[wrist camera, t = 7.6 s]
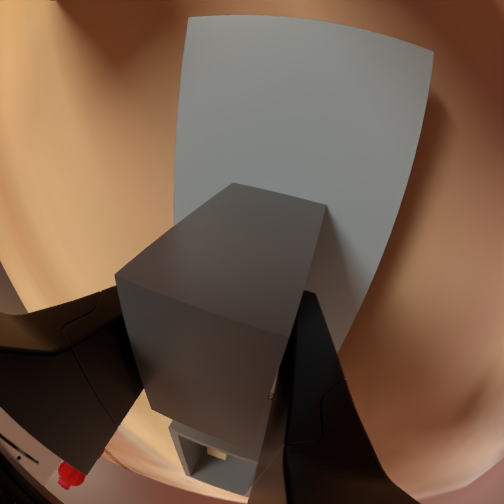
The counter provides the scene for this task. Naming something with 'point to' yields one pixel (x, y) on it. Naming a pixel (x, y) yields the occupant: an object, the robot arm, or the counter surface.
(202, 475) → the tub
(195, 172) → the lid
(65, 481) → the water bottle
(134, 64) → the counter surface
